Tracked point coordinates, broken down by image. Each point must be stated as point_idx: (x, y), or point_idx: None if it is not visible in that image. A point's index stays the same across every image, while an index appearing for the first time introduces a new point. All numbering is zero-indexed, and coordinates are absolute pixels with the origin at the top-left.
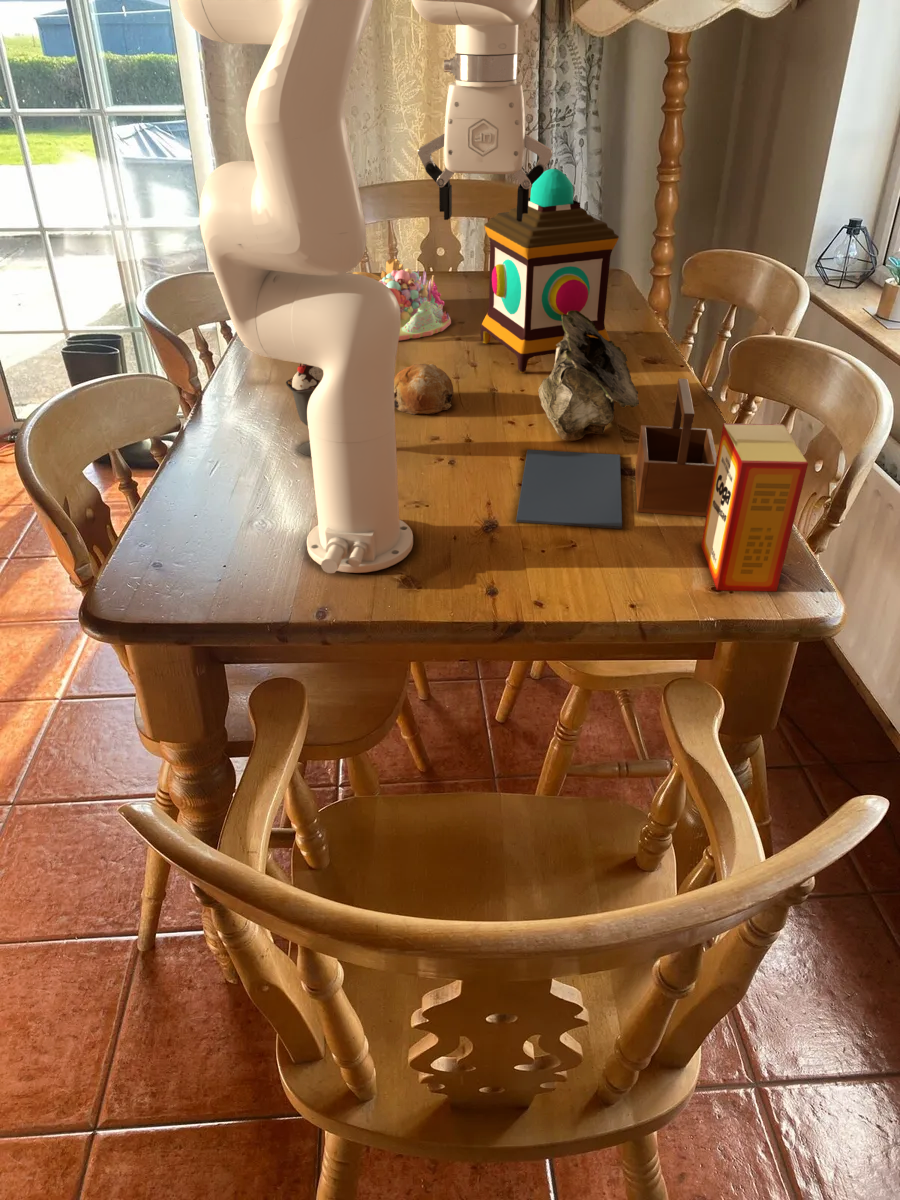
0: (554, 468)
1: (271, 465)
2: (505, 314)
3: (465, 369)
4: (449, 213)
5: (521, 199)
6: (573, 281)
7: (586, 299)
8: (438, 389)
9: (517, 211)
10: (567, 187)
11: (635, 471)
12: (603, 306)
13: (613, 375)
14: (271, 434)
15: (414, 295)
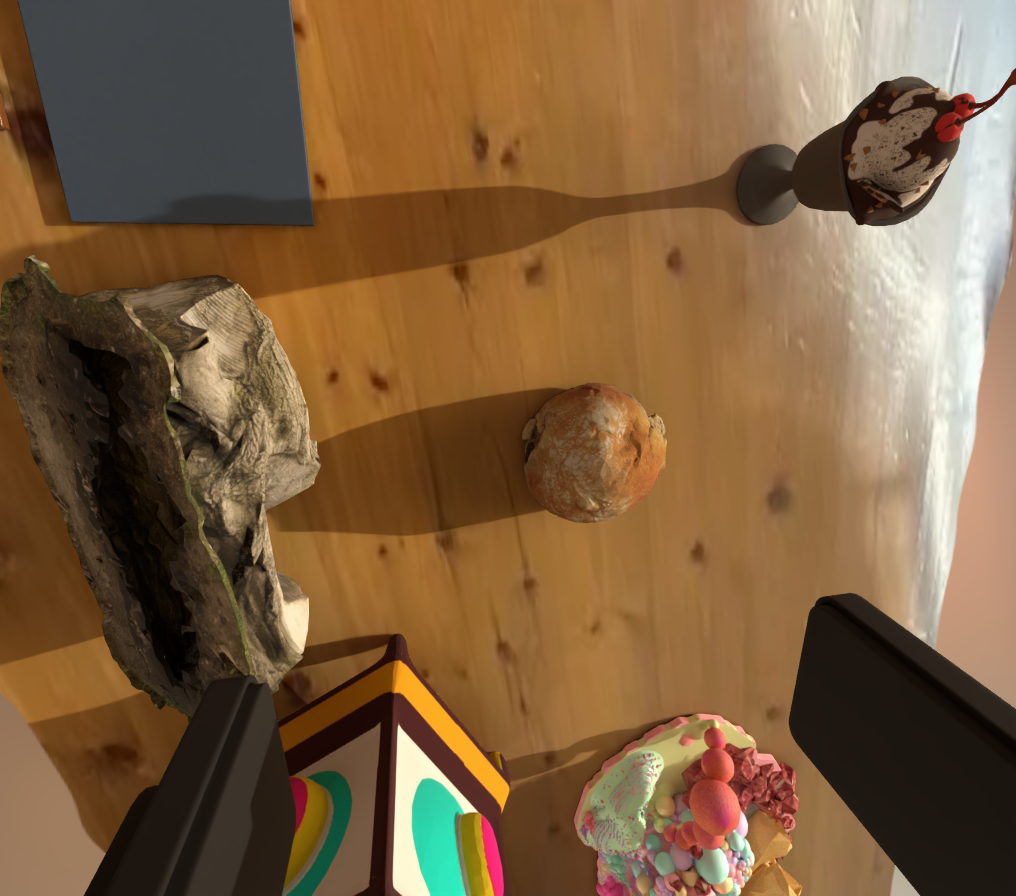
0: (225, 117)
1: (850, 91)
2: (455, 789)
3: (517, 628)
4: (842, 630)
5: (131, 867)
6: None
7: None
8: (557, 423)
9: (234, 739)
10: None
11: (2, 117)
12: None
13: (88, 473)
14: (859, 249)
15: (663, 858)
